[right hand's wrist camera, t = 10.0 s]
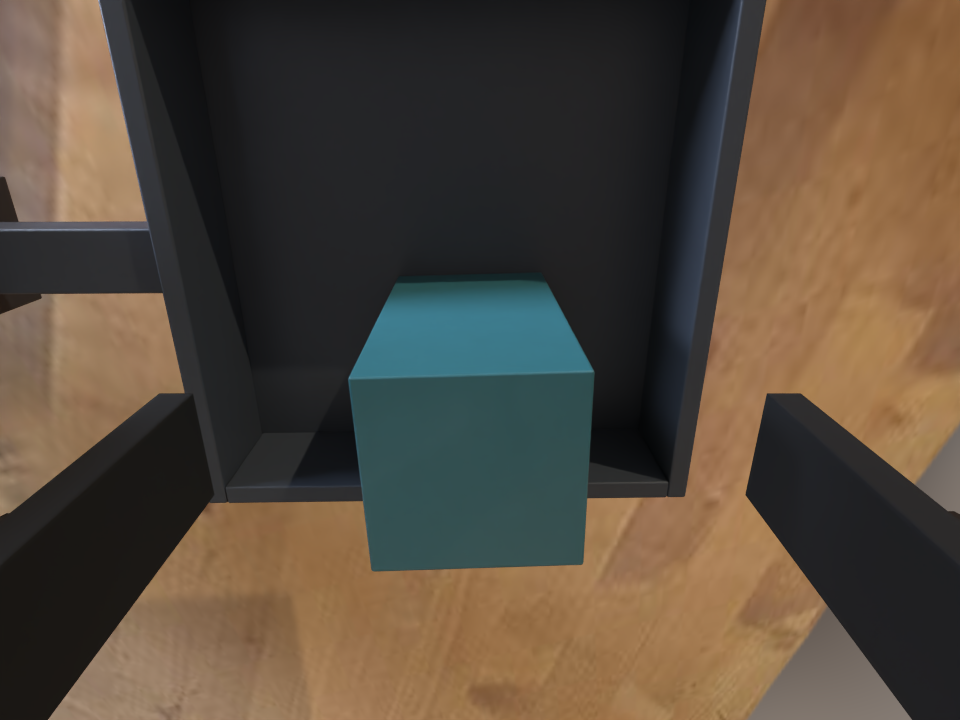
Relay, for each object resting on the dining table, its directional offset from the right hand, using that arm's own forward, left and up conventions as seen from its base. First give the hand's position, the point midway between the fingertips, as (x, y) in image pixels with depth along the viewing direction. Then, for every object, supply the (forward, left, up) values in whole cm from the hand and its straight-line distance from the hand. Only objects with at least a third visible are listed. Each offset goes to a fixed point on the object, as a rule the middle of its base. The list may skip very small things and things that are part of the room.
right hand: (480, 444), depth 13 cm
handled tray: (-8, -1, -7) cm, 11 cm away
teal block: (0, 0, -7) cm, 7 cm away
